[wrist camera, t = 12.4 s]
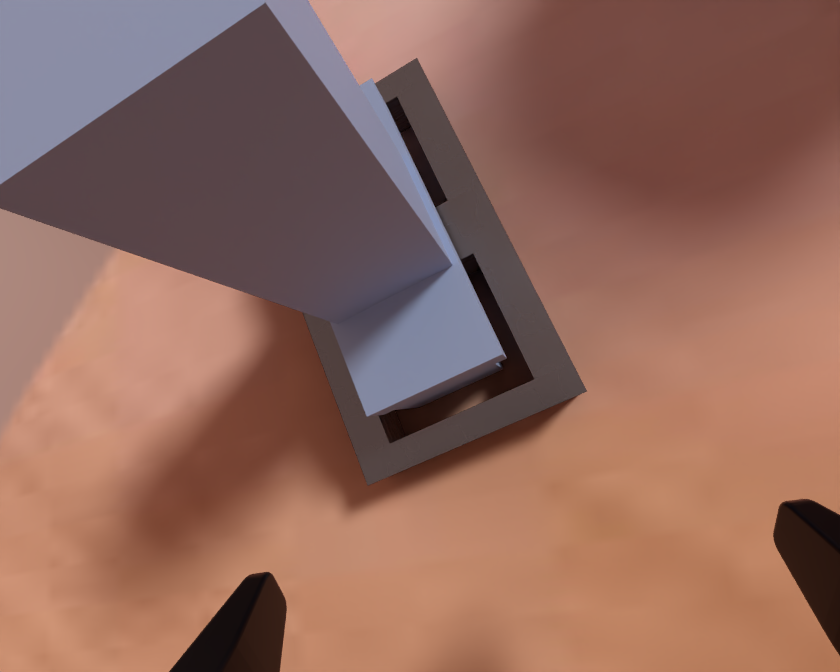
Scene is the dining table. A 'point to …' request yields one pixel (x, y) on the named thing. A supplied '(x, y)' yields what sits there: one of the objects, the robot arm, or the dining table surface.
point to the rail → (477, 248)
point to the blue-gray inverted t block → (241, 173)
